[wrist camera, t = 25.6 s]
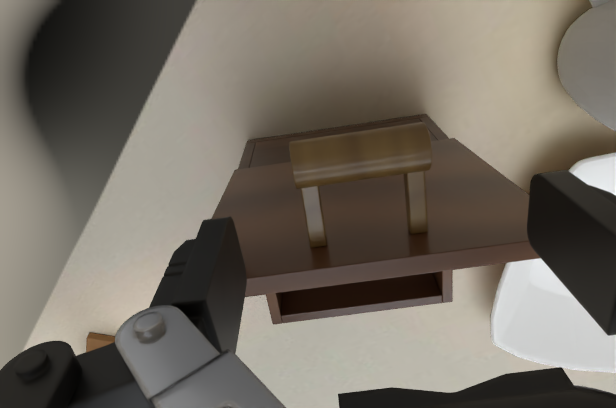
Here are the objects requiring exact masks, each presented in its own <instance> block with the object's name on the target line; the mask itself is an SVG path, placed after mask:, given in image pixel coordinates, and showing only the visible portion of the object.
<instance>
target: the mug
mask: <svg viewBox="0 0 616 408" xmlns="http://www.w3.org/2000/svg"><path fill="white" fill-rule="evenodd" d="M589 2H590V4H591V5H592V7H593V8H591V9H589V10H588V11H586V12H585V13H584V14H582V15H581V16H580V17H579V18H578V19H577V20H576V21H575V22H574V23H573V24H572V25H571V26H570V27H569V28H568V30H567V31H566V33H565V35H564V37H563V38H562V41H561V44H560V47H559V51H558V58H557V65H558V73H559V78H560V81H561V83H562V86H563V87H564V89H565V90H566V92H567V93H568V94H569V95H570V97H571V98H572V99H573V100H574V102H575V103H576V104H577V105H578V106H579V107H580V108H582V109H583V110H584V111H585V112H587V113H588V114H589V115H590V116H592V117H593V118H594V119H595V120H597V121H599V122H600V123H602V124H604V125H605V126H607V127H609V128H610V129H612V130H614V131H616V0H589Z"/></svg>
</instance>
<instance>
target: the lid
mask: <svg viewBox="0 0 616 408" xmlns="http://www.w3.org/2000/svg"><path fill="white" fill-rule="evenodd" d="M289 150H290V159H291V162H286V163H279V164H272V165H265V166H258V167H251V168H244V169H237V170H235V171H234V173H233V175H232V177H231V179H230V181H229V183H228V185H227V187H226V189H225V192H224V194H223V196H222V198H221V200H220V202H219V204H218V206H217V208H216V210H215V212H214V214H213V217H212V219H215V218H222V217H229V216H231V217H232V219H233V221H234V224H235V228H236V232H237V236H238V239H239V243H240V247H241V251H242V255H243V259H244V263H245V268H246V277H247V285H246V292H245V297H249V296H257V295H264V294H272V293H280V292H287V291H295V290H303V289H310V288H318V287H325V286H333V285H341V284H348V283H356V282H364V281H371V280H379V279H386V278H394V277H402V276H409V275H417V274H425V273H432V272H440V271H447V270H455V269H463V268H470V267H478V266H486V265H493V264H501V263H508V262H516V261H524V260H531V259H539V258H540V257H539V256H538V254H537V253H536V252H535V251H534V250H533V248H532V247H531V245H530V242H529V239H528V235H527V218H528V207H529V195H528V194H527V193H526V192H525V191H523V190H522V189H521V188H519V187H518V186H517V185H515V184H514V183H513V182H511V181H510V180H509V179H507V178H506V177H505V176H504V175H502V174H501V173H500V172H498V171H497V170H496V169H494V168H493V167H492V166H490V165H489V164H488V163H486V162H485V161H484V160H482V159H481V158H480V157H479V156H477V155H476V154H475V153H473V152H472V151H471V150H469V149H468V148H467V147H465V146H464V145H463V144H461V143H460V142H459V141H458V140H456V139H455V138H451V139H444V140H437V141H431V139H430V135H429V131H428V128H427V126H426V124H425V123H424V122H419V123H413V124H406V125H399V126H392V127H386V128H379V129H372V130H365V131H358V132H352V133H345V134H338V135H331V136H325V137H318V138H311V139H304V140H297V141H291V142H290V143H289Z"/></svg>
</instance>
